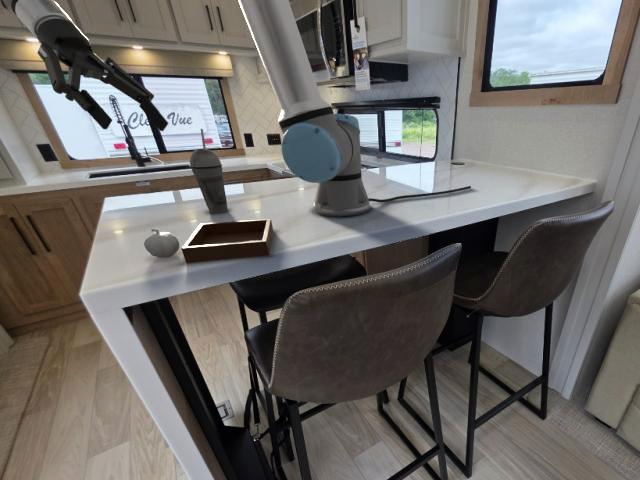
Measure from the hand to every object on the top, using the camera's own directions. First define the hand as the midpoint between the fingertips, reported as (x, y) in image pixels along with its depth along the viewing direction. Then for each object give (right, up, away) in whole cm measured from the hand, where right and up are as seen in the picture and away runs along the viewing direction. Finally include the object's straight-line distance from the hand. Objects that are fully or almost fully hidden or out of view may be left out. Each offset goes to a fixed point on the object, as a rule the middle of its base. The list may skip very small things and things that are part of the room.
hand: (138, 126), depth 72 cm
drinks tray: (+23, -27, -3) cm, 35 cm away
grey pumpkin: (+12, -29, -8) cm, 33 cm away
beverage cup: (+7, -14, +18) cm, 24 cm away
